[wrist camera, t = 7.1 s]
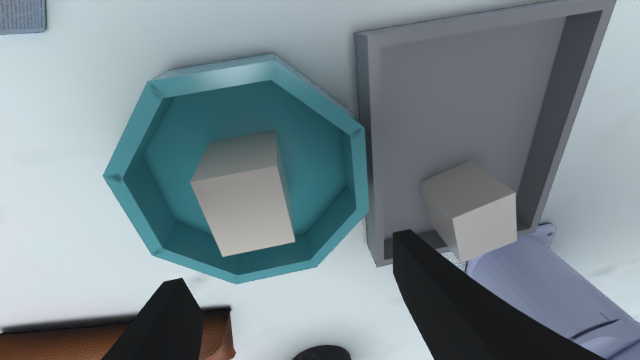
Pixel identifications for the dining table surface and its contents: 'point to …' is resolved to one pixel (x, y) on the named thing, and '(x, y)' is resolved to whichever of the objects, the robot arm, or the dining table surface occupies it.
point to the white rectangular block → (245, 193)
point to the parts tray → (471, 106)
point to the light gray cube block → (470, 210)
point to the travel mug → (324, 354)
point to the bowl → (229, 122)
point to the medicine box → (22, 16)
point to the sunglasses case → (108, 341)
